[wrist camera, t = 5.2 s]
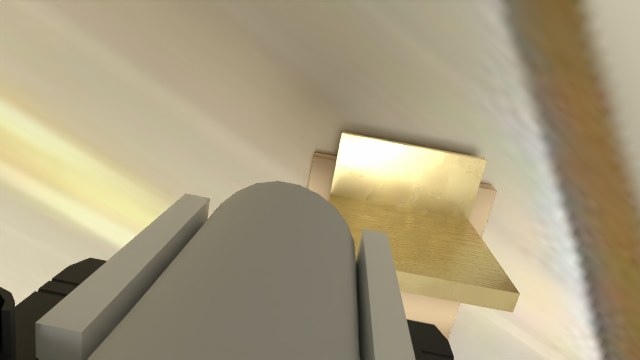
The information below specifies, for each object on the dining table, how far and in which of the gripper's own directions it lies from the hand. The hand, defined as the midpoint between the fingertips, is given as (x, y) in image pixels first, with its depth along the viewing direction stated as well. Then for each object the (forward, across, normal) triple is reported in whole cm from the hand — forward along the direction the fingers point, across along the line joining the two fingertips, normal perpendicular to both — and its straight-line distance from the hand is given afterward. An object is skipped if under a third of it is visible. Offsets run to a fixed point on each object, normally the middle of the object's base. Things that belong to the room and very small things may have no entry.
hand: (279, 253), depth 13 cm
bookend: (+14, +6, -1) cm, 15 cm away
